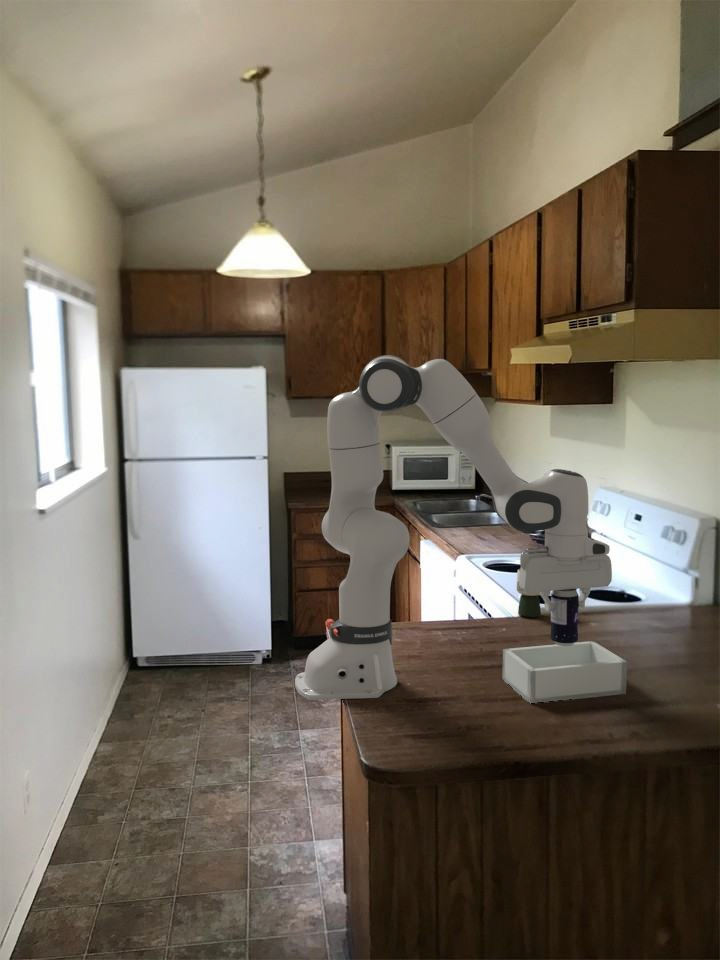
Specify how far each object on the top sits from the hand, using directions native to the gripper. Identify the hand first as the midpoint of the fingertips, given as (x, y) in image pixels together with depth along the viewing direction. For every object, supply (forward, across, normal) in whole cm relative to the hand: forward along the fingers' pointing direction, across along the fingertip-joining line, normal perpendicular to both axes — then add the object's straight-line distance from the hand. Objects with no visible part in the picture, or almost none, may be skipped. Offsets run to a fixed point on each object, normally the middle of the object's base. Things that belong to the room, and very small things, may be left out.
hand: (564, 608), depth 171 cm
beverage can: (+8, 0, 0) cm, 8 cm away
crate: (+17, 0, 0) cm, 17 cm away
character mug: (+18, +16, +50) cm, 56 cm away
